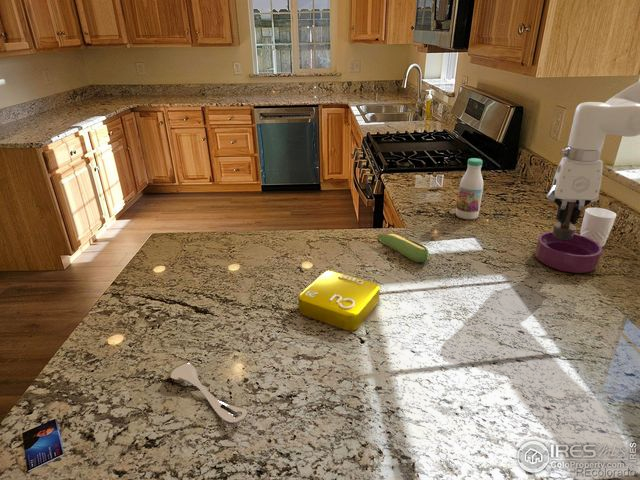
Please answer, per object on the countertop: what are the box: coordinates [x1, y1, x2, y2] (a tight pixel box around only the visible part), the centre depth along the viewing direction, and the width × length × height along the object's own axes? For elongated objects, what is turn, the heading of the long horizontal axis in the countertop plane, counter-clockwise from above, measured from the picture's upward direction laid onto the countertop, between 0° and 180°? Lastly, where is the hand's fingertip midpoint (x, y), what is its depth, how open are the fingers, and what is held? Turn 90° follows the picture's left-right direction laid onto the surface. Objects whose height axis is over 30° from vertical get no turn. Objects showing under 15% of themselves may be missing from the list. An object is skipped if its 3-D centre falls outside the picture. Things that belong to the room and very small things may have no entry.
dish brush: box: [552, 200, 577, 240], centre depth 114 cm, size 5×5×10 cm
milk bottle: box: [455, 157, 484, 220], centre depth 144 cm, size 8×8×20 cm
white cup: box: [579, 207, 617, 248], centre depth 127 cm, size 8×8×10 cm
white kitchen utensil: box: [168, 361, 248, 424], centre depth 74 cm, size 20×4×5 cm
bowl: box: [534, 231, 603, 274], centre depth 118 cm, size 15×15×6 cm
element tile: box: [298, 270, 381, 332], centre depth 99 cm, size 15×15×5 cm
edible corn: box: [376, 232, 431, 263], centre depth 123 cm, size 5×20×5 cm, turn 35°
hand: (566, 221), depth 114 cm, fingers closed on dish brush
